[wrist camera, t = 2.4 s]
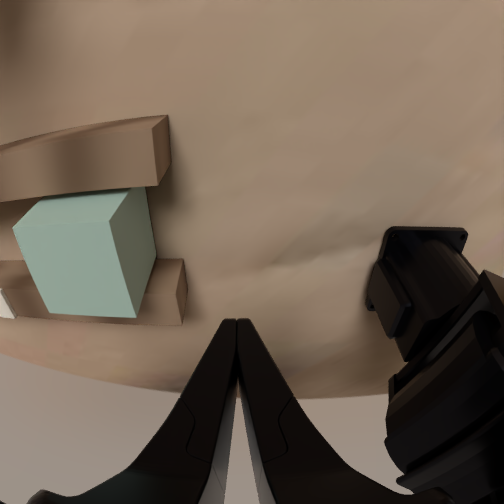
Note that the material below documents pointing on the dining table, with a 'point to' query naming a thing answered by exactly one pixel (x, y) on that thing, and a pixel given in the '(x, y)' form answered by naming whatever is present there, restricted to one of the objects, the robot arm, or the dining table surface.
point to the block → (89, 251)
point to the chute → (89, 179)
